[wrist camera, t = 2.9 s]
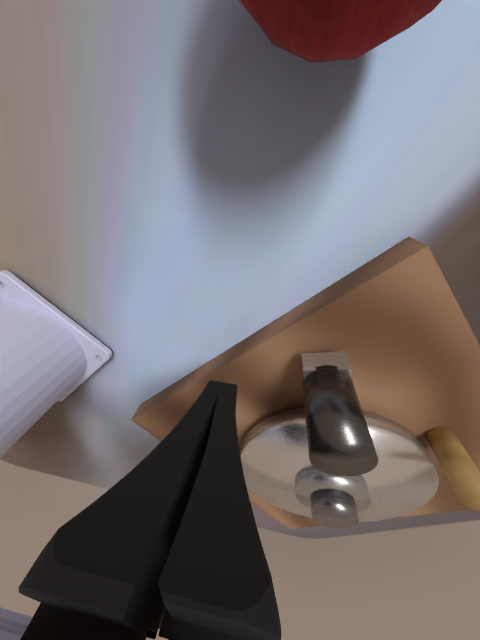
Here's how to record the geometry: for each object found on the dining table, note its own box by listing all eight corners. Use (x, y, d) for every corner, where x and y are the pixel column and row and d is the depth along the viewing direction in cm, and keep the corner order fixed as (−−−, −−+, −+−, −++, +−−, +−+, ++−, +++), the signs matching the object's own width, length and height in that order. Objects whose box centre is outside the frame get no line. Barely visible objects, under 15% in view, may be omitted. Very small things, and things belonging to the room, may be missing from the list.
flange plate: (410, 510, 18) (445, 601, 14) (256, 495, 20) (250, 568, 17) (473, 342, 10) (595, 449, 6) (206, 357, 13) (173, 435, 9)
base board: (289, 511, 26) (291, 576, 22) (140, 404, 19) (101, 467, 15) (538, 474, 16) (626, 578, 12) (409, 236, 10) (503, 283, 6)
